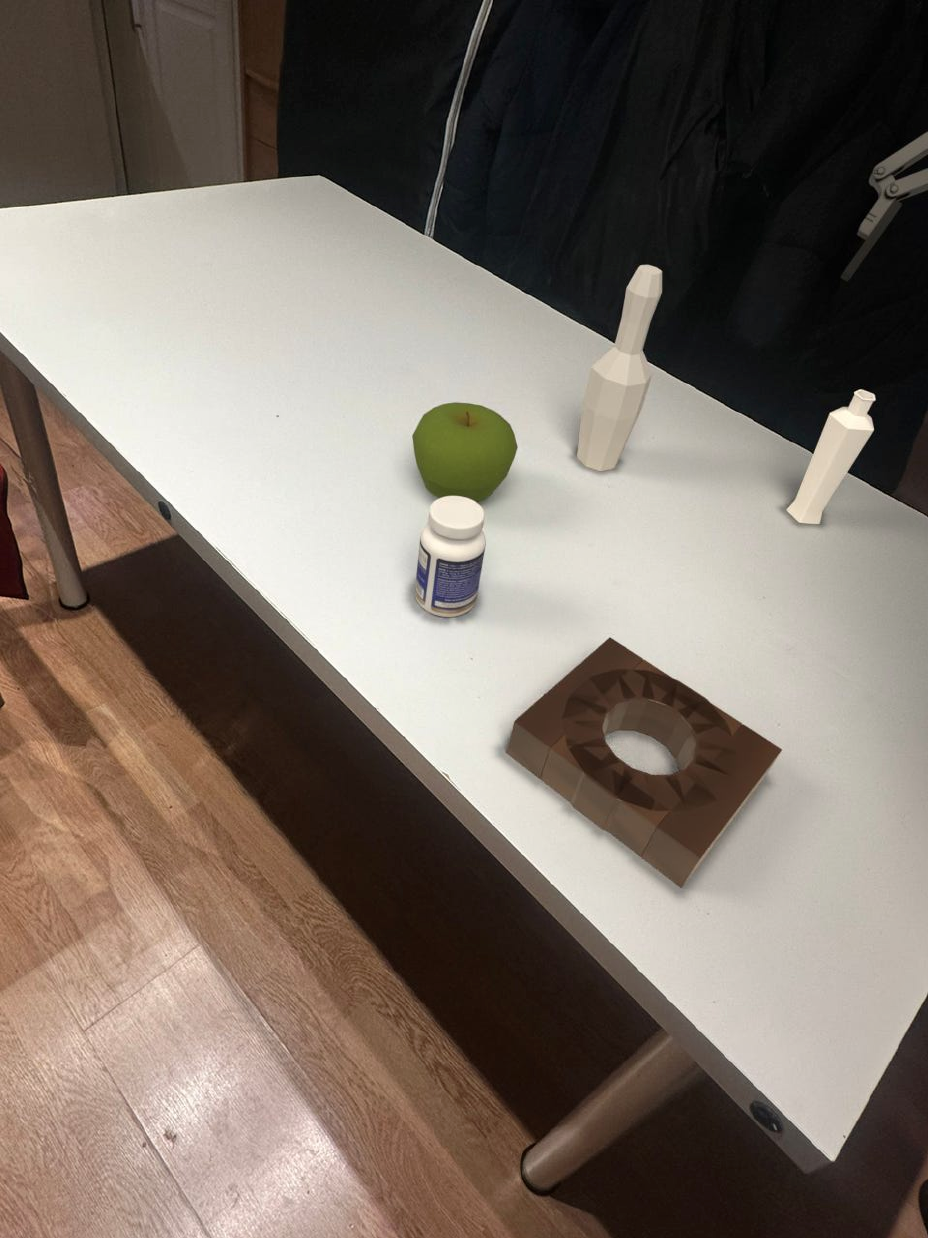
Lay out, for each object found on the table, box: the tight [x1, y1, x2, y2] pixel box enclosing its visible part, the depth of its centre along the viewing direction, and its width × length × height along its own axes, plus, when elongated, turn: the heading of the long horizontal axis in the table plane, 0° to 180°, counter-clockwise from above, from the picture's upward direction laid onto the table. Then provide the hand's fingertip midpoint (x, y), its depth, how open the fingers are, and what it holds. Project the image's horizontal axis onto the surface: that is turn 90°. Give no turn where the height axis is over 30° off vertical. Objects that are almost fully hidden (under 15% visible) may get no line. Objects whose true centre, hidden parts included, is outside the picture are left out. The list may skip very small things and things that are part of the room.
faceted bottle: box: [576, 264, 663, 472], centre depth 88 cm, size 6×6×22 cm
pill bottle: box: [414, 496, 487, 618], centre depth 72 cm, size 6×6×10 cm
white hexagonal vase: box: [785, 388, 876, 525], centre depth 87 cm, size 5×4×15 cm
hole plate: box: [505, 637, 783, 889], centre depth 63 cm, size 16×13×4 cm
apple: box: [411, 401, 519, 502], centre depth 84 cm, size 11×10×10 cm
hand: (913, 317), depth 72 cm, fingers open, 13 cm apart
